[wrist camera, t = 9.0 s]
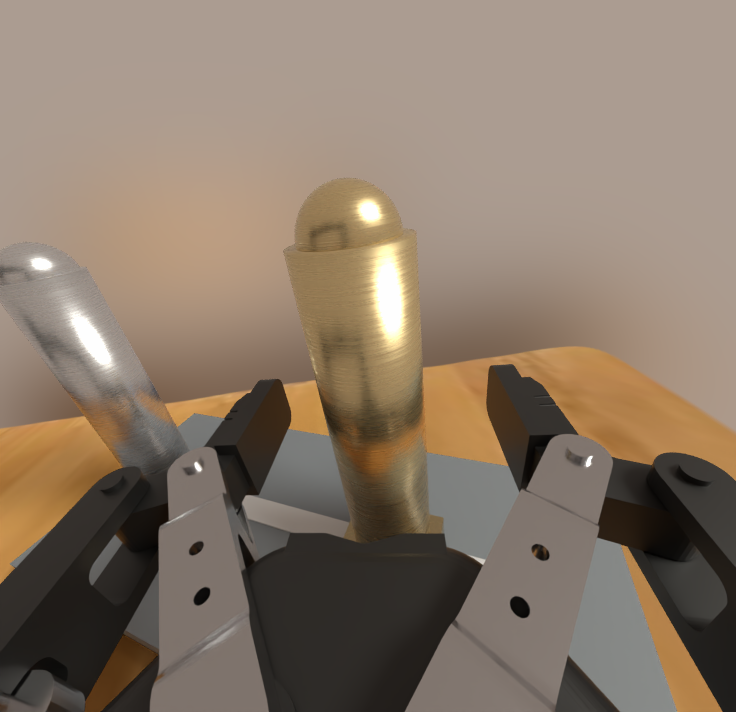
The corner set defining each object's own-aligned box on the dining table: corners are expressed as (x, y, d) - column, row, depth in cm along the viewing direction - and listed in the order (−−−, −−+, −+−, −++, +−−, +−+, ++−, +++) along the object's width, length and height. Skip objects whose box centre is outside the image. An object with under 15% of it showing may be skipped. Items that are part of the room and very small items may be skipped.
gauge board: (29, 579, 16) (7, 562, 16) (201, 427, 26) (193, 412, 25) (739, 991, 6) (779, 1003, 6) (592, 500, 16) (599, 479, 15)
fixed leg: (137, 502, 18) (-54, 253, 11) (179, 463, 20) (43, 238, 14) (173, 514, 17) (-14, 248, 10) (213, 471, 19) (84, 233, 12)
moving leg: (340, 569, 13) (219, 194, 6) (365, 503, 16) (300, 187, 9) (434, 601, 12) (414, 162, 5) (444, 522, 14) (442, 164, 7)
